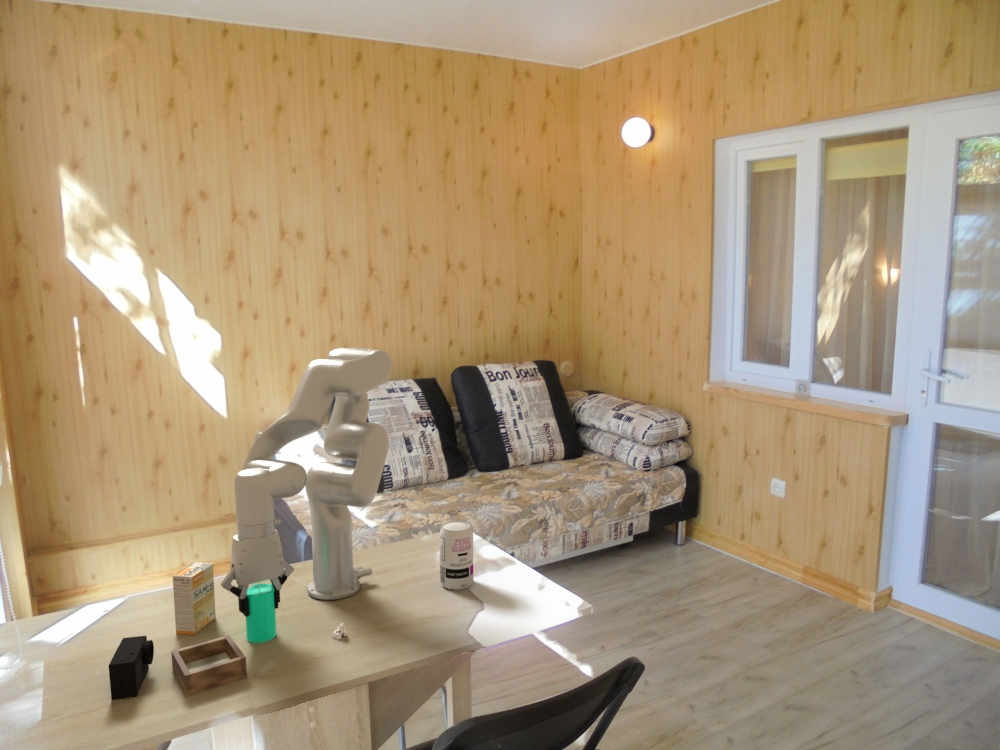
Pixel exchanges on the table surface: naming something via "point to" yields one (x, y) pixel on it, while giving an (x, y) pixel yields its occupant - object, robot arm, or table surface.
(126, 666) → the digital camera
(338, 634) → the white irregular piece
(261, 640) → the candle
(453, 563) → the supplement can
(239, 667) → the open wooden box
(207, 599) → the supplement box
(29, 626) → the table surface
